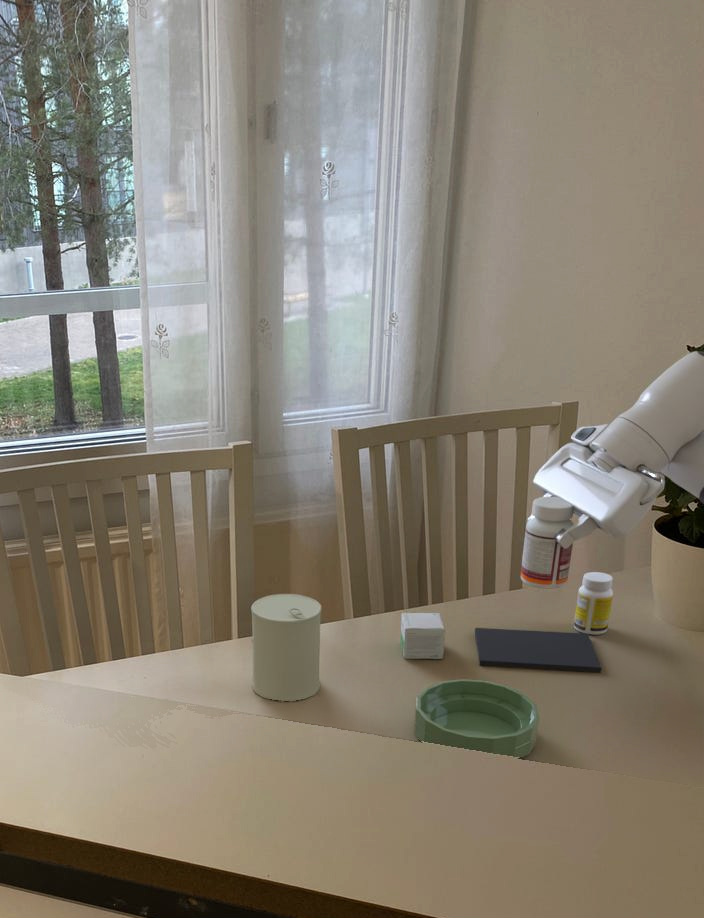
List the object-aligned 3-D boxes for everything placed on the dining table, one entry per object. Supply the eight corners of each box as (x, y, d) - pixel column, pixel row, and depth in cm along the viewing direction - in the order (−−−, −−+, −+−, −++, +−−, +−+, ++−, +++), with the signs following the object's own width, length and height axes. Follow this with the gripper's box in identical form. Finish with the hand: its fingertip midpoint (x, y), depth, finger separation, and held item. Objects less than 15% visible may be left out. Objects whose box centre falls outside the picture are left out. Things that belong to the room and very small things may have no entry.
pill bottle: (557, 572, 128) (568, 494, 123) (574, 589, 122) (586, 508, 117) (513, 574, 127) (522, 496, 123) (528, 591, 122) (538, 510, 117)
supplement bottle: (610, 626, 137) (619, 574, 134) (603, 638, 134) (612, 584, 130) (577, 620, 140) (585, 568, 136) (569, 631, 136) (577, 579, 133)
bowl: (527, 712, 115) (531, 683, 113) (541, 774, 102) (545, 742, 101) (414, 704, 117) (416, 676, 116) (414, 764, 105) (416, 733, 103)
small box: (399, 642, 134) (401, 611, 132) (438, 642, 134) (441, 612, 132) (402, 659, 129) (404, 628, 127) (443, 660, 129) (446, 628, 126)
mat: (587, 638, 134) (587, 633, 133) (600, 672, 124) (601, 667, 124) (474, 632, 137) (475, 627, 136) (479, 665, 127) (480, 660, 127)
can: (273, 708, 117) (273, 623, 112) (239, 679, 125) (238, 598, 120) (333, 691, 121) (336, 608, 116) (297, 664, 129) (297, 585, 123)
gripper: (686, 495, 111) (599, 576, 114) (597, 454, 129) (524, 525, 132) (658, 461, 108) (570, 546, 111) (572, 424, 127) (498, 498, 129)
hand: (545, 534), depth 122 cm, fingers closed on pill bottle, 6 cm apart
